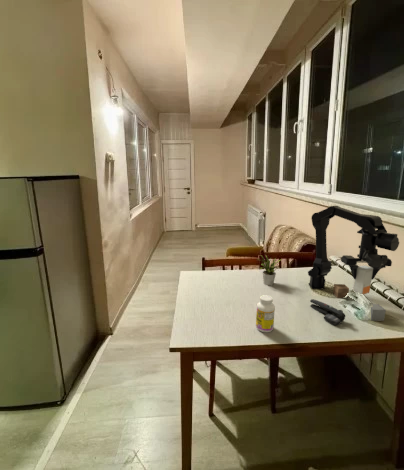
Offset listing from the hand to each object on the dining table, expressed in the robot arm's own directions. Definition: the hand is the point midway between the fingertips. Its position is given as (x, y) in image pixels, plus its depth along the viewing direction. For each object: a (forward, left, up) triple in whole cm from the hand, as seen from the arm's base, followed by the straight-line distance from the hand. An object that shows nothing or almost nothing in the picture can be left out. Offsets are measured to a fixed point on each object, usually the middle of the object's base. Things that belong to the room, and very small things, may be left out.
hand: (363, 279), depth 117 cm
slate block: (+1, -10, -13) cm, 16 cm away
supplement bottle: (-46, -21, -13) cm, 52 cm away
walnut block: (-4, +10, -13) cm, 17 cm away
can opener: (-19, -10, -13) cm, 25 cm away
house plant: (-38, +23, -13) cm, 46 cm away
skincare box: (0, 0, -7) cm, 7 cm away
